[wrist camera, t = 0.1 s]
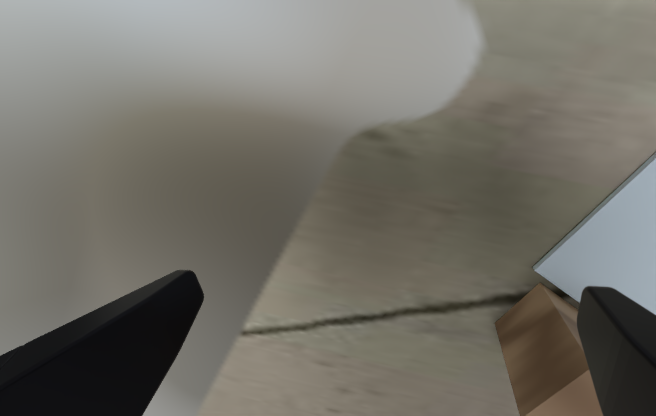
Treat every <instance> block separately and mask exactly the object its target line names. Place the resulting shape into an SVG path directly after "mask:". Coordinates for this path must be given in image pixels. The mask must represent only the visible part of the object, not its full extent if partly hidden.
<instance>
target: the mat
mask: <svg viewBox="0 0 656 416" xmlns="http://www.w3.org/2000/svg"><path fill="white" fill-rule="evenodd" d="M533 269H534V270H535V271H536V272H537V273H539V274H540V275H541V276H543V277H544V278H546V279H547V280H548V281H550V282H551V283H553V284H554V285H555V286H557V287H558V288H560V289H561V290H562V291H564V292H565V293H566V294H568V295H569V296H571V297H572V298H573V299H575V300H576V301H578V302H579V303H580V300H581V295H582V291H583V289H584V288H585V287H587V286H604V287H612V288H614V289H616V290H618V291H619V292H621V293H622V294H624V295H625V296H627V297H629V298H630V299H632V300H633V301H635V302H636V303H638V304H640V305H641V306H643V307H644V308H646V309H647V310H649V311H651V312H652V313H654V314H655V315H656V153H655V154H653V155H652V156H651V157H650V158H649V159H648V160H647V161H646V162H645V163H644V164H643V165H642V166H641V167H640V168H638V169H637V170H636V171H635V172H634V173H633V174H632V175H631V176H630V177H629V178H628V179H627V180H626V181H624V182H623V183H622V184H621V185H620V186H619V187H618V188H617V189H616V190H615V191H614V192H613V193H612V194H611V195H609V196H608V197H607V198H606V199H605V200H604V201H603V202H602V203H601V204H600V205H599V206H598V207H597V208H596V209H594V210H593V211H592V212H591V213H590V214H589V215H588V216H587V217H586V218H585V219H584V220H583V221H582V222H581V223H579V224H578V225H577V226H576V227H575V228H574V229H573V230H572V231H571V232H570V233H569V234H568V235H567V236H565V237H564V238H563V239H562V240H561V241H560V242H559V243H558V244H557V245H556V246H555V247H554V248H553V249H552V250H550V251H549V252H548V253H547V254H546V255H545V256H544V257H543V258H542V259H541V260H540V261H539V262H538V263H537V264H535V265H534V266H533Z"/></svg>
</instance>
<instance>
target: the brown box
mask: <svg viewBox="0 0 656 416" xmlns="http://www.w3.org/2000/svg"><path fill="white" fill-rule="evenodd" d="M577 315H578V310H577V309H576V308H575V307H573V306H572V305H571V304H569V303H568V302H566V301H565V300H564V299H562V298H561V297H559V296H558V295H557V294H555V293H554V292H553V291H551V290H550V289H548V288H547V287H546V286H544V285H543V284H542V283H539V284H538V285H537V286H535V287H534V288H533V289H532V290H531V291H530V292H529V293H528V294H527V295H525V296H524V297H523V298H522V299H521V300H520V301H519V302H518V303H517V304H515V305H514V306H513V307H512V308H511V309H510V310H509V311H508V312H507V313H505V314H504V315H503V316H502V317H501V318H500V319H499V320H498V321H497V322H495V326H496V330H497V333H498V337H499V341H500V344H501V348H502V352H503V355H504V359H505V363H506V366H507V370H508V374H509V377H510V381H511V385H512V388H513V392H514V396H515V399H516V403H517V407H518V410H519V414H520V416H603V414H602V411H601V408H600V405H599V401H598V398H597V395H596V392H595V388H594V385H593V381H592V378H591V374H590V371H589V367H588V364H587V361H586V357H585V354H584V350H583V347H582V343H581V340H580V336H579V333H578V329H577Z"/></svg>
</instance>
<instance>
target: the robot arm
mask: <svg viewBox="0 0 656 416" xmlns="http://www.w3.org/2000/svg"><path fill="white" fill-rule="evenodd" d="M203 300H204V294H203V291H202V288H201V286H200V284H199V282H198V279H197V277H196V275H195V273H194V272H193V271H191V270H177V271H175V272H172V273H170V274H168V275H166V276H164V277H162V278H160V279H158V280H156V281H154V282H152V283H150V284H148V285H146V286H144V287H141V288H139V289H137V290H135V291H133V292H131V293H129V294H127V295H125V296H123V297H121V298H119V299H117V300H115V301H113V302H111V303H108V304H106V305H104V306H102V307H100V308H98V309H96V310H94V311H92V312H90V313H88V314H86V315H84V316H82V317H79V318H77V319H76V320H73V321H71V322H69V323H67V324H65V325H63V326H61V327H59V328H57V329H55V330H53V331H51V332H48V333H47V334H44V335H42V336H40V337H38V338H36V339H34V340H32V341H30V342H28V343H26V344H25V345H24V346H19V347H17V348H15V349H13V350H11V351H9V352H7V353H5V354H3V355H1V356H0V416H142V415H143V413H144V412H145V410H146V408H147V406H148V405H149V403H150V401H151V400H152V398H153V396H154V395H155V393H156V391H157V389H158V388H159V386H160V384H161V383H162V381H163V379H164V377H165V376H166V374H167V372H168V371H169V369H170V367H171V365H172V364H173V362H174V360H175V358H176V357H177V355H178V353H179V351H180V349H181V347H182V345H183V343H184V341H185V339H186V337H187V335H188V332H189V330H190V328H191V326H192V324H193V322H194V320H195V318H196V316H197V314H198V311H199V309H200V307H201V305H202V303H203ZM577 329H578V333H579V336H580V340H581V343H582V347H583V350H584V354H585V357H586V361H587V364H588V367H589V371H590V374H591V378H592V381H593V385H594V388H595V392H596V395H597V398H598V401H599V405H600V408H601V411H602V414H603V416H656V315H655V314H654V313H652V312H651V311H649V310H647V309H646V308H644V307H643V306H641V305H640V304H638V303H636V302H635V301H633V300H632V299H630V298H629V297H627V296H625V295H624V294H622V293H621V292H619V291H618V290H616V289H614V288H612V287H604V286H587V287H585V288H584V289H583V291H582V295H581V300H580V305H579V310H578V315H577Z"/></svg>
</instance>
